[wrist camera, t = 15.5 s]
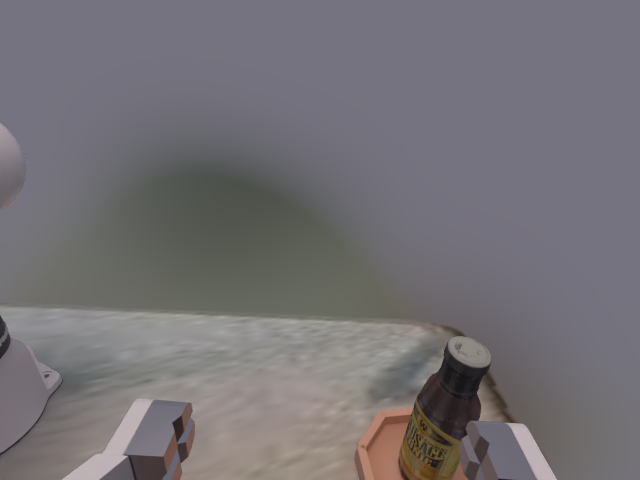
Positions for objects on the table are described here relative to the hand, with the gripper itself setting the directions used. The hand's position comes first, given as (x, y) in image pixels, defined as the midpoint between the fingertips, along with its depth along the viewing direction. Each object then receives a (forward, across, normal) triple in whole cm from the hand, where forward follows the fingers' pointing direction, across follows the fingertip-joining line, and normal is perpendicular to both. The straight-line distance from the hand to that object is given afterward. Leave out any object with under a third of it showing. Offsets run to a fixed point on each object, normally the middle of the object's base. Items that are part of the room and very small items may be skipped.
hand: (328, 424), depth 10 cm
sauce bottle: (+19, -14, +33) cm, 40 cm away
